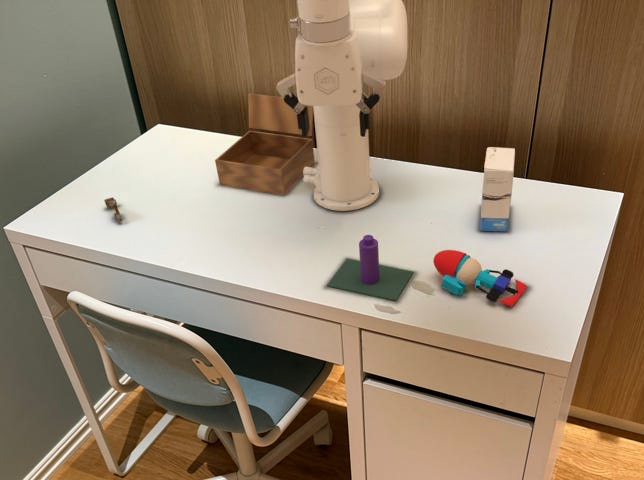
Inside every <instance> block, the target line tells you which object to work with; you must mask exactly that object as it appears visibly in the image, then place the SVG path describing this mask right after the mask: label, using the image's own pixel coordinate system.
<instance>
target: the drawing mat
mask: <svg viewBox="0 0 644 480" xmlns="http://www.w3.org/2000/svg"><path fill="white" fill-rule="evenodd" d="M413 275H414V271H412V270H408V269H402V268H398V267H392V266H388V265H384V264H383V265H382V264H379V277H380V279H379V281H378V282H377V283H375V284H371V285H369V284H365V283H363V282H362V281H361V269H360V260H357V259H352V258H345V260H344V262H343V263H342V264H341V265H340V267H339V268H338V269H337V271H336V272H335V274H334V275H333V276H332V277H331V278H330V280H329V281H328V283H327V284H326V287H328V288H332V289H338V290H342V291H346V292H352V293H355V294H356V293H357V294H361V295H366V296H369V297H370V296H371V297H375V298H378V299H384V300H388V301H393V302H397V301H398V299H399V297H400V296H401V294H402V293H403V291H404V289H405V288H406V286H407V285H408V283H409V281H410V279H411V278H412V276H413Z"/></svg>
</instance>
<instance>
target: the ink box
mask: <svg viewBox="0 0 644 480" xmlns="http://www.w3.org/2000/svg"><path fill="white" fill-rule="evenodd" d="M515 149H516V148H513V147H497V146H488V147H487V148H486V152H485V161H484V165H483V168H484V169H483V170H484V171H483V179H482V189H481V191H482V192H481V203H480V204H481V205H480V222H479V223H480V225H479V231H482V232H508V229H509V220H510V212H511V211H510V210H511V205H512V204H511V203H512V194H513V183H514V173H515V172H514V171H515V156H516V150H515Z"/></svg>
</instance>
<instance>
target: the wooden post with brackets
mask: <svg viewBox="0 0 644 480" xmlns="http://www.w3.org/2000/svg"><path fill="white" fill-rule="evenodd" d="M103 201H104V204H105V206H106V209H107V210H108V209H111V208H113V209H114V213H113V215H114V218H115V219H116V220H118V222H120V223H121V222H123V218H122V214H121V212H120V211H119V208H118V202H117V199H115V197H113V196H112V197H109V198H105V199H103Z"/></svg>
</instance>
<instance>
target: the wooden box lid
mask: <svg viewBox="0 0 644 480" xmlns="http://www.w3.org/2000/svg"><path fill="white" fill-rule="evenodd" d="M247 100H248V101H247V103H248V109H247V110H248V129H256V130H263V131H271V132H276V133H277V132H278V133H285V134H292V135H293V134H294V135H300V136H302V129H299V128H298V121H297V114H296V113H294V111H293V109H292V108H291V107H290V106H289V105H287V104H286V103H285V102H284V99H283V97H282V96H274V95H266V94H258V93H247ZM306 107H308V116H309V125H310V128H309V131H308V134H307V136H306V137H308V136H309V137H313V121H314V110H313V106H307V105H306Z"/></svg>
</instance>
